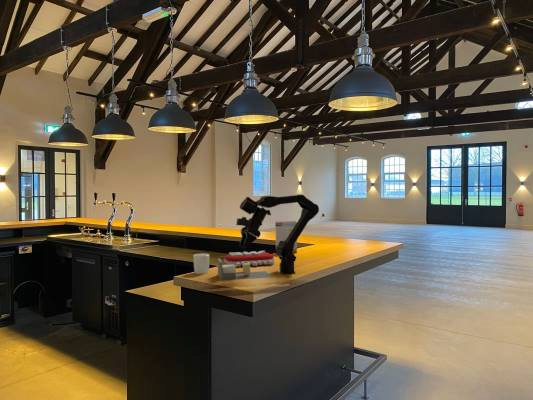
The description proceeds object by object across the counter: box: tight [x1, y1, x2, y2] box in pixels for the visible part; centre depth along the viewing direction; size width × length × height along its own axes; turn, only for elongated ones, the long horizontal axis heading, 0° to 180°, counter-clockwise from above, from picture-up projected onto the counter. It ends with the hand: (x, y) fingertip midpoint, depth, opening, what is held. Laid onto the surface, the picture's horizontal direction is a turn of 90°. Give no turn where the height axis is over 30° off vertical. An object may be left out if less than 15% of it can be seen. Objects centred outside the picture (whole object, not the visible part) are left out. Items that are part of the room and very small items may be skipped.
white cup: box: [192, 253, 210, 275], centre depth 198 cm, size 8×8×10 cm
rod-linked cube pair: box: [222, 263, 251, 275], centre depth 188 cm, size 13×6×6 cm, turn 104°
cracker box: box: [274, 220, 298, 254], centre depth 266 cm, size 14×6×21 cm, turn 84°
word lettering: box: [223, 250, 275, 269], centre depth 224 cm, size 27×7×30 cm
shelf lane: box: [217, 258, 273, 281], centre depth 188 cm, size 24×14×9 cm, turn 104°
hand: (241, 247), depth 190 cm, fingers open, 9 cm apart
